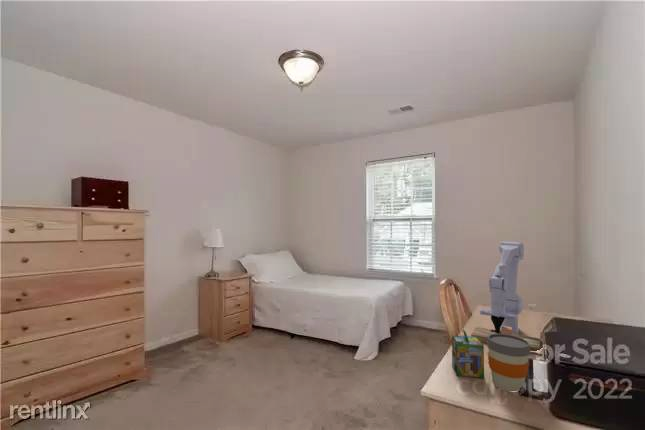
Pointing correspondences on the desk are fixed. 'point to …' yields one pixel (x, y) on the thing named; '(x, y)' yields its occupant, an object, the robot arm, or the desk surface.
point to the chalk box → (467, 356)
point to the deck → (533, 342)
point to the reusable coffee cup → (508, 361)
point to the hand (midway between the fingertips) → (497, 332)
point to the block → (506, 330)
